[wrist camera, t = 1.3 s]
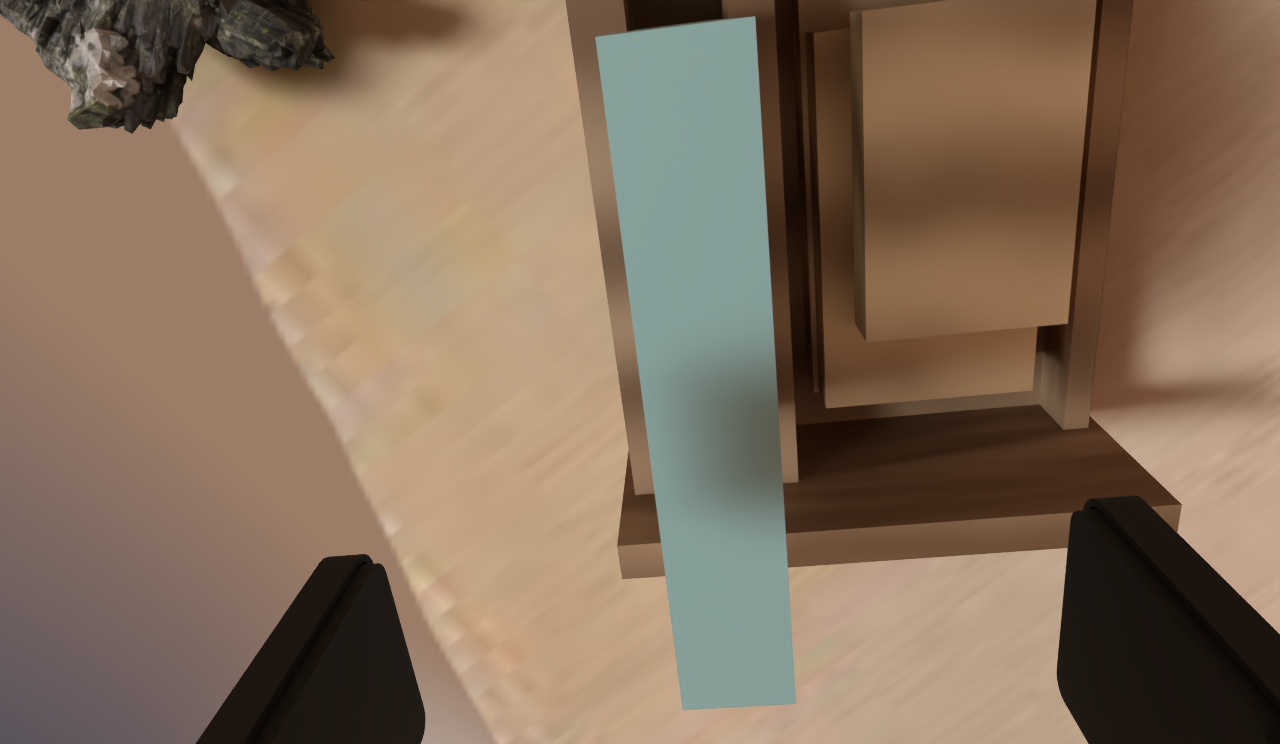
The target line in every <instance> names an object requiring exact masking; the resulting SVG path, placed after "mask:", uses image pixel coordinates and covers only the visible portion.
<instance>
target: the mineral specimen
mask: <svg viewBox="0 0 1280 744" xmlns="http://www.w3.org/2000/svg"><path fill="white" fill-rule="evenodd" d="M0 16H2V17H3V18H5V19H6V20H8V21H9V22H11V23H12V24H13V25H14V26H15V27H16V28H17V29H18V30H19V31H21V32H23V33H24V34H26V35H27V36H29V37H30V38H31V39H32V40H33V41H34V43H35V44H36V45H37V48H36V51H37V52H38V54H39V55H40V57H41V58H42V61H43V63H44V65H45V67H46V68H48V69H49V70H50V71H52V72H53V73H54V74H56V75H57V76H58V77H60V78H61V79H62V80H64V81H65V82H66V83H67V84H68V85H70V87H71V88H72V95H71V110H70V114H69V117H68V121H70V122H71V123H72V124H73V125H74V126H75V127H77V128H78V129H92V128H101V127H111V128H119V127H121V126H124V127H125V130H126V131H128V132H130V133H133V132H134V131H135V130H136V128H137V127H138V126H139V125H140V124H142V126H144V127H147V128H149V129H151V128H152V126H153V124H154V122H155V120H156V119H157V120H160V121H162V122H164V120H165V118H167V119H172V118H173V117H177V112H178V107H179V105H180V104H181V103H182V100H183V87H184V85H185V83H186V80H187V76H188V77H189V78H190V79H191V80H192V79H193V73H194V67H195V64H196V62H197V60H198V59H199V57H200V55H201V53H202V51H203V49H204V46H205V43H207V44H208V45H210V46H211V47H213V48H215V49H217V50H218V51H220V52H222V53H223V54H225V55H227V56H229V57H233V58H235V59H238V60H240V61H241V62H242V63H244V64H245V65H246V66H248V67H249V68H253V67H256V66H259V65H261V66H263V67H265V68H267V69H269V70H271V71H273V70H278V69H280V68H291V69H293V70H296V71H297V70H298V69H299V68H301V67H302V66H305V67H309V68H317V69H323V61H322V60H324V61H327V62H329V61H330V60H332V59H334V58H335V57H334V56H333V54H332V53H331V52H330V51H329V50H328V49H327V47H326V46H325V45H324V41H323V33H322V29H321V25H320V21H319V19H318V17H317V16H315V15H313V14H312V12H311V5H310V2H309V0H0ZM317 58H318V59H317ZM320 59H321V60H320Z"/></svg>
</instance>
